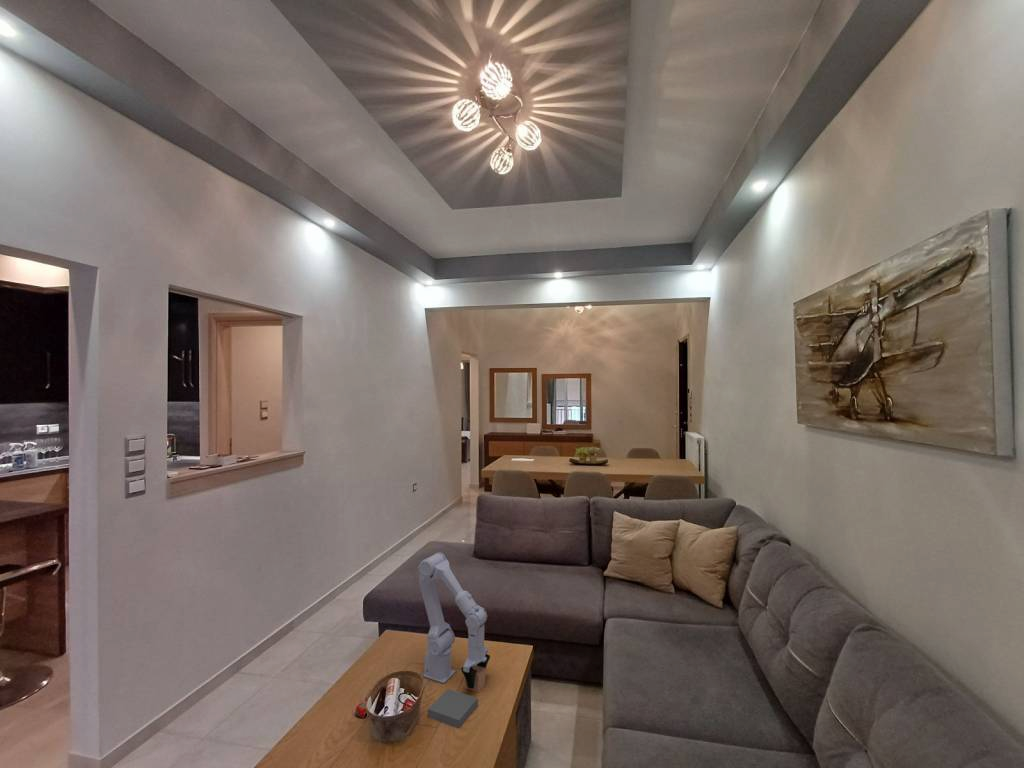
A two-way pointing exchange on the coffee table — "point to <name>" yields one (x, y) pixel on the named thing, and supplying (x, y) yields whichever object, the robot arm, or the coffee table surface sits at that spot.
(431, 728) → the coffee table surface
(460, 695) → the charcoal flat pad
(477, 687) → the terracotta block
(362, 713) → the race car
